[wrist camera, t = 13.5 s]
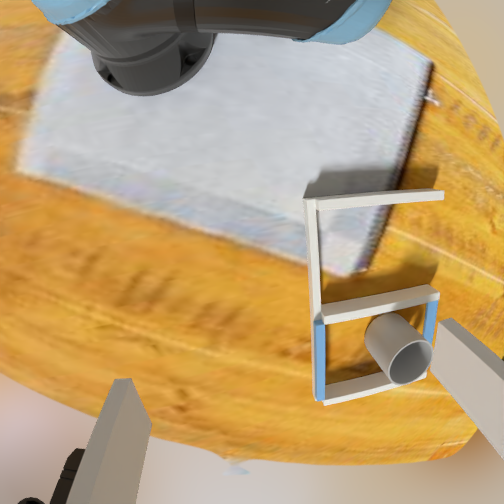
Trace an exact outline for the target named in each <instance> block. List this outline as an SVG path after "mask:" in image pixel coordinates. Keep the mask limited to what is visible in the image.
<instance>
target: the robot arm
mask: <svg viewBox="0 0 504 504" xmlns="http://www.w3.org/2000/svg"><path fill="white" fill-rule="evenodd" d="M391 1H392V0H32V2H33V3H34V5H35V6H36V7H38V8H39V9H40V10H41V11H42V12H43V13H44V16H45V17H46V18H47V20H48V21H49V22H51V23H53V24H56V25H57V26H58V27H60V28H61V29H62V30H64V31H65V32H67V33H68V34H69V35H71V36H72V37H73V38H75V39H76V40H77V41H79V42H80V43H81V44H83V45H84V46H86V47H87V48H88V49H89V50H91V54H92V59H93V63H94V66H95V68H96V70H97V72H98V73H99V75H100V76H101V77H102V79H103V80H104V81H106V82H107V83H108V84H109V85H111V86H112V87H114V88H115V89H117V90H119V91H121V92H123V93H126V94H129V95H134V96H153V95H158V94H162V93H165V92H168V91H171V90H173V89H175V88H177V87H179V86H181V85H182V84H184V83H185V82H187V81H188V80H190V79H191V78H192V77H193V76H194V75H195V74H196V73H197V72H198V71H199V70H200V69H201V68H202V66H203V65H204V63H205V62H206V60H207V58H208V56H209V54H210V52H211V49H212V45H213V33H233V34H250V35H263V36H273V37H282V38H290V39H292V40H293V41H296V42H310V41H313V42H321V43H328V44H336V45H341V44H346V43H350V42H353V41H356V40H358V39H360V38H362V37H363V36H365V35H366V34H367V33H369V32H370V31H371V30H372V29H373V28H374V27H375V26H376V25H377V23H378V22H379V21H380V19H381V18H382V17H383V15H384V14H385V12H386V11H387V9H388V7H389V5H390V3H391ZM430 371H431V372H432V373H433V374H434V376H435V377H436V378H437V379H438V380H439V381H440V383H441V384H442V385H443V386H444V387H445V388H446V390H447V391H448V392H449V393H450V394H451V396H452V397H453V398H454V399H455V400H456V401H457V403H458V404H459V405H460V406H461V407H462V409H463V410H464V411H465V412H466V414H467V415H468V416H469V417H470V418H471V420H472V421H473V422H474V423H475V425H476V426H477V427H478V428H479V430H480V431H481V432H482V433H483V435H484V436H485V437H486V438H487V440H488V441H489V442H490V443H491V445H492V446H493V447H494V448H495V450H496V451H497V452H498V454H499V455H500V456H501V458H502V459H503V460H504V361H503V360H502V359H500V358H499V357H498V356H497V355H496V354H495V353H493V352H492V351H491V350H490V349H489V348H488V347H486V346H485V345H484V344H483V343H482V342H480V341H479V340H478V339H477V338H476V337H474V336H473V335H472V334H471V333H470V332H468V331H467V330H466V329H465V328H464V327H462V326H461V325H460V324H459V323H457V322H456V321H455V320H454V319H452V318H449V319H446V320H443V321H440V322H438V329H437V335H436V342H435V348H434V353H433V358H432V364H431V369H430ZM151 427H152V423H151V421H150V418H149V416H148V414H147V412H146V410H145V408H144V406H143V404H142V401H141V399H140V397H139V395H138V393H137V390H136V388H135V386H134V383H133V381H132V379H131V378H127V379H115V380H114V382H113V385H112V387H111V389H110V391H109V394H108V396H107V398H106V401H105V403H104V405H103V408H102V410H101V412H100V415H99V417H98V420H97V422H96V425H95V427H94V430H93V432H92V434H91V438H90V439H89V442H88V445H87V447H86V449H78V448H76V449H75V450H74V451H73V452H72V454H71V455H70V456H69V457H68V458H67V461H66V463H65V465H64V470H63V471H62V473H61V475H60V479H59V480H58V483H57V485H56V488H55V491H54V493H53V496H52V499H51V501H50V504H136V498H137V493H138V488H139V483H140V478H141V473H142V468H143V463H144V459H145V454H146V449H147V444H148V440H149V436H150V431H151ZM18 504H44V503H43V502H42V501H40V500H39V499H38V498H32V497H30V498H25V499H23V500H22V501H20V502H19V503H18Z"/></svg>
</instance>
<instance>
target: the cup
mask: <svg viewBox="0 0 504 504" xmlns="http://www.w3.org/2000/svg"><path fill="white" fill-rule="evenodd" d="M364 342H365V346H366V348H367V349H368V351H369V352H370V354H371V355H372V356H373V358H374V359H375V360H376V362H377V363H378V365H379V366H380V367H381V369H382V370H383V371H384V373H385V374H386V376H387V377H388V378H389V380H390V381H391V382H392V383H393V384H395V385H406V384H409V383H412V382H414V381H415V380H417V379H418V378H419V377H421V376H422V375H423V374H424V373H425V372H426V370H427V369H428V367H429V366H430V364H431V362H432V358H433V353H434V352H433V347H432V345H431V344H430V343H429V342H428V341H427V340H426V339H425V338H424V337H423V336H422V335H421V334H420V333H419V332H418V331H417V330H416V329H415V328H414V327H412V326H411V325H410V324H409V323H408V322H407V321H406V320H405V319H404V318H403V317H402V316H400V315H399V314H396V313H386V314H382V315H380V316H378V317H377V318H376V319H374V320H373V321H372V322H371V323H370V325H369V326H368V328H367V330H366V333H365V339H364Z"/></svg>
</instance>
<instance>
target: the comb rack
mask: <svg viewBox="0 0 504 504" xmlns="http://www.w3.org/2000/svg"><path fill="white" fill-rule="evenodd" d="M433 200H444V191H443V190H437V189H431V188H426V189H409V190H394V191H380V192H367V193H355V194H343V195H332V196H321V197H311V198H303V208H304V220H305V233H306V247H307V262H308V278H309V296H310V318H311V345H312V393H313V396H314V399H315V401H321V400H322V402H323V404H324V406H326V405H330V404H335V403H339V402H344V401H348V400H352V399H356V398H360V397H364V396H368V395H371V394H375V393H378V392H382V391H385V390H389V389H392V388H396V387H399V386H402V385H395V384H393V383H392V382H391V381H390V380H389V378H388V377H387V376H386V374H385V373H384V371H382V372H379V373H375V374H371V375H367V376H363V377H359V378H355V379H351V380H346V381H342V382H337V383H333V384H328V385H325V325H326V324H332V323H337V322H342V321H347V320H353V319H358V318H362V317H367V316H372V315H377V314H381V313H386V312H391V311H395V310H399V309H404V308H408V307H412V306H416V305H420V304H424V303H427V304H426V313H425V321H424V328H423V335H422V336H423V337H424V338H425V339H426V340H427V341H428V342H429V343H430V344H431V345H432V340H433V334H434V327H435V320H436V313H437V306H438V300H439V296H440V292H439V291H437V290H436V289H434V288H433V287H431V286H430V285H428V284H425V285H420V286H416V287H411V288H406V289H402V290H397V291H392V292H387V293H382V294H377V295H372V296H366V297H361V298H356V299H350V300H345V301H339V302H333V303H327V304H321V293H320V270H319V251H318V235H317V221H316V210H318V211H324V210H334V209H343V208H353V207H364V206H374V205H385V204H397V203H408V202H420V201H433ZM426 374H427V371H426V372H425V373H424V374H423V375H422V376H421V377H419V378H418V379H417V380H420V379H423V378H426ZM417 380H415V381H417Z"/></svg>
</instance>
